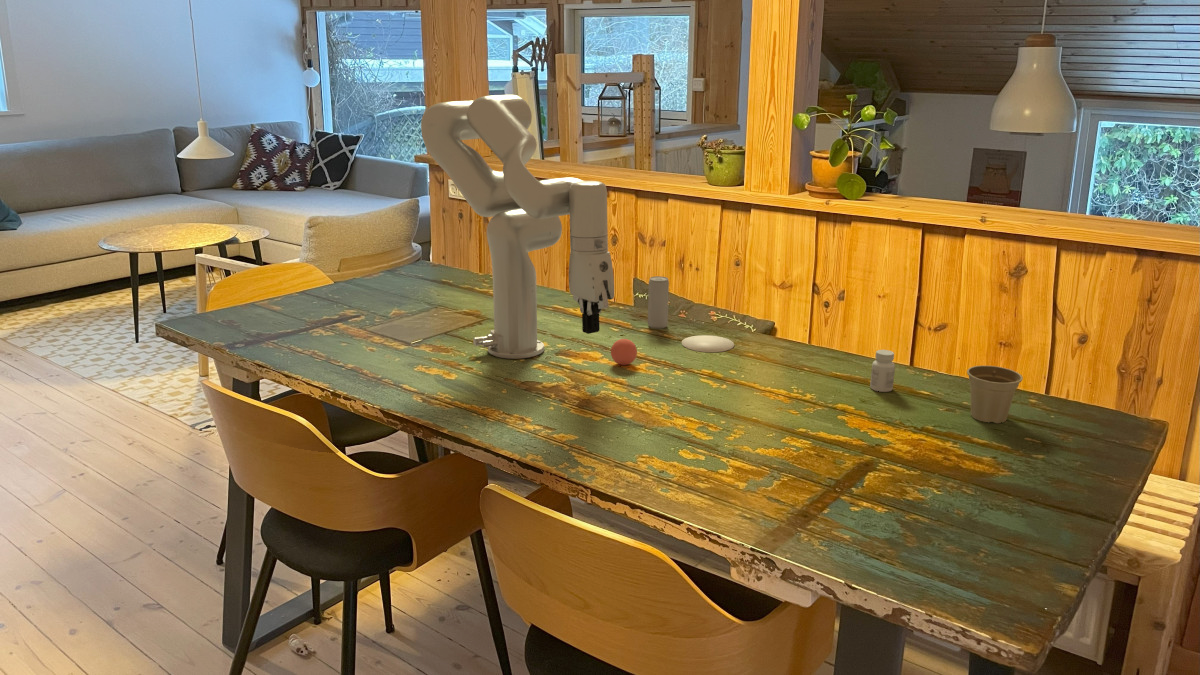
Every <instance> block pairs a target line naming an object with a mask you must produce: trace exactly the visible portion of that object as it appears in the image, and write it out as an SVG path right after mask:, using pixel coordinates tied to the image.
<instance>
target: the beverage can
mask: <svg viewBox="0 0 1200 675" xmlns="http://www.w3.org/2000/svg"><path fill="white" fill-rule="evenodd" d="M669 286H670V281H669V278H668V277H666V276H659V275H658V276H651V277H649V280H648V298H647V299H648V300H647V301H648V302H647V303H648V304H647V305H648V306H647V307H648V308H647V325H648V327H649V328H651V329H655V328H656V329H658V330H659V329H660V330H661V328H662V329H665V328H666V327H667V326H668V323H669V322H668V319H669V316H668V315H669V290H670V288H669Z"/></svg>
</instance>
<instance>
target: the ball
mask: <svg viewBox="0 0 1200 675" xmlns="http://www.w3.org/2000/svg"><path fill="white" fill-rule="evenodd" d="M637 354H638V349H637V347H636V344H635V343H634V342H633V341H632V340H630V339H628V338H621V339H618V340H616V341H615V342H614V343H613V344H612V346H611V348H610V356H611V358H612V360H613V361H614V362H615V363H616V364H618V365H620V366H626V365H630V364H632V363H633V362H634V361H635V360H636V358H637Z"/></svg>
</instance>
